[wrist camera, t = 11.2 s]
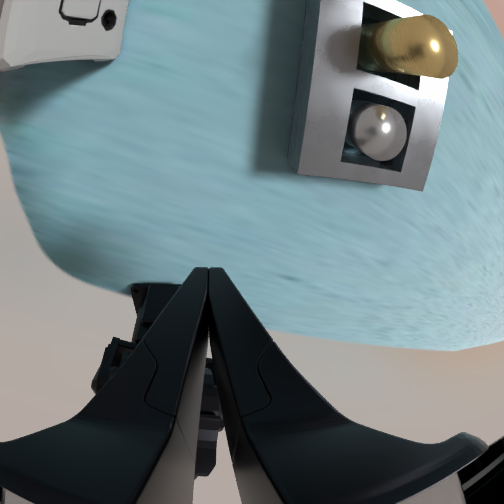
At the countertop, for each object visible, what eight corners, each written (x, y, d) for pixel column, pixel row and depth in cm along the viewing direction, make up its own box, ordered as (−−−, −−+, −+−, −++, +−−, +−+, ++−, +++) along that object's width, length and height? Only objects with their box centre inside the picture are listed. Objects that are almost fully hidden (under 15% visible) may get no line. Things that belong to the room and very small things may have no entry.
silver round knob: (375, 150, 19) (399, 164, 16) (333, 142, 18) (353, 156, 15) (384, 105, 17) (411, 114, 14) (341, 94, 16) (364, 99, 13)
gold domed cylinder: (389, 77, 15) (454, 88, 10) (345, 64, 15) (404, 64, 9) (394, 35, 13) (459, 32, 8) (350, 19, 13) (409, 3, 7)
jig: (402, 176, 20) (422, 191, 18) (286, 160, 19) (297, 174, 16) (427, 32, 13) (452, 31, 10) (307, -13, 11) (322, -25, 9)
